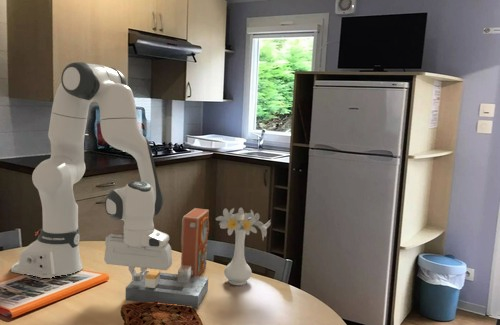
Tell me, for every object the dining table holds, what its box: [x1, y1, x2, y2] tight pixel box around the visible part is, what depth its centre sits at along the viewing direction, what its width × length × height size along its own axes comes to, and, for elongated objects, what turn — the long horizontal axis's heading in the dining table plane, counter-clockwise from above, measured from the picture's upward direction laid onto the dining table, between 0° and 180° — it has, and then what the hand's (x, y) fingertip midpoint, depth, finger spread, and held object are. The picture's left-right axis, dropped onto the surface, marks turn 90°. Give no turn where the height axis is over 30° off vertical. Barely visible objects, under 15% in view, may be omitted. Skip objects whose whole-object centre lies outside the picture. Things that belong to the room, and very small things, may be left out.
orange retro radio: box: [180, 207, 210, 277], centre depth 163 cm, size 21×7×15 cm
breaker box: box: [125, 265, 209, 310], centre depth 144 cm, size 22×14×8 cm, turn 83°
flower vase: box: [215, 207, 272, 286], centre depth 156 cm, size 13×18×25 cm
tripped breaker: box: [145, 269, 161, 288], centre depth 141 cm, size 3×4×4 cm
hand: (137, 280), depth 142 cm, fingers closed
